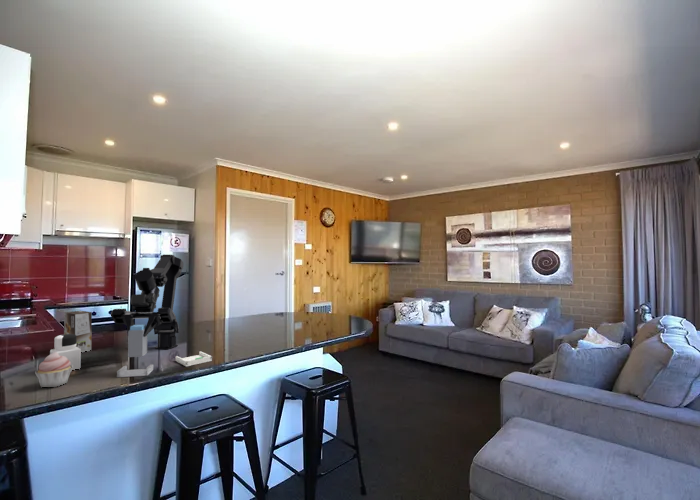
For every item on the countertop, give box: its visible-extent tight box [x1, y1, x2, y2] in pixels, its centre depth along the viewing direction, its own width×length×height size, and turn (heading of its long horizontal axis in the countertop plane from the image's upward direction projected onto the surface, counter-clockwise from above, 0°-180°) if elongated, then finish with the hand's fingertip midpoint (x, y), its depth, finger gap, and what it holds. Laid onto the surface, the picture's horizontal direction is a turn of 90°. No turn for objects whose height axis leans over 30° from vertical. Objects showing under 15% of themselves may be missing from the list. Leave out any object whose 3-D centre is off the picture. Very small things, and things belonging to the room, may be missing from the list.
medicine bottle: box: [49, 333, 82, 371], centre depth 125 cm, size 7×7×12 cm
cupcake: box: [34, 352, 73, 388], centre depth 111 cm, size 9×9×10 cm
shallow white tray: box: [116, 363, 154, 378], centre depth 121 cm, size 6×9×2 cm, turn 101°
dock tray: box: [175, 351, 213, 367], centre depth 136 cm, size 10×10×2 cm
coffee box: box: [63, 310, 93, 353], centre depth 149 cm, size 9×6×16 cm
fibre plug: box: [127, 323, 148, 358], centre depth 123 cm, size 4×4×10 cm
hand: (136, 336), depth 121 cm, fingers closed on fibre plug, 4 cm apart
